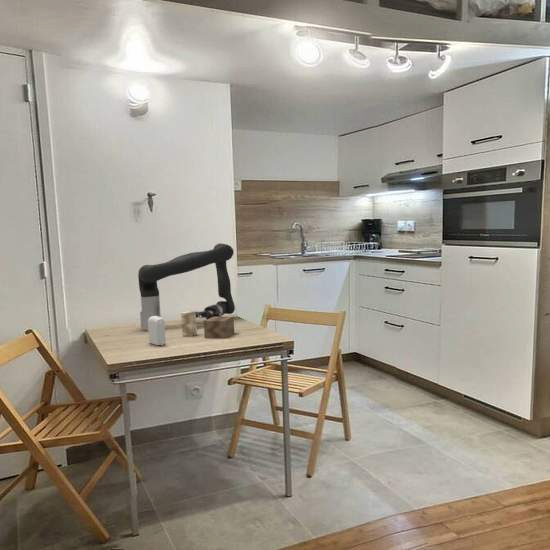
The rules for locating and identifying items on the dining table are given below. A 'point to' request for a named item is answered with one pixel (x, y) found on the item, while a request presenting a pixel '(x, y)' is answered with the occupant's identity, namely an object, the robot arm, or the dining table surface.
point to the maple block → (188, 323)
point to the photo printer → (156, 330)
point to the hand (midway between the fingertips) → (200, 317)
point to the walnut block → (218, 327)
